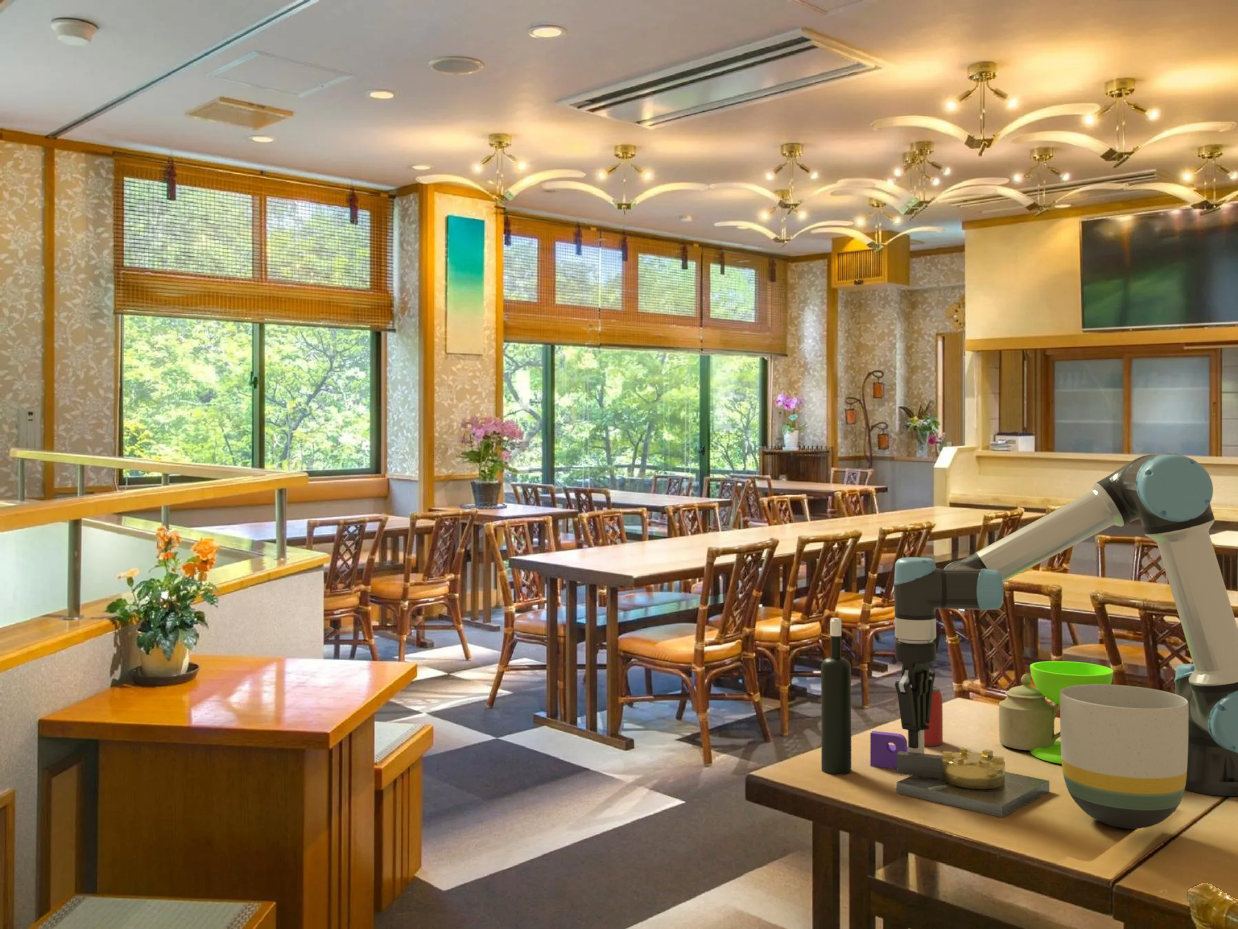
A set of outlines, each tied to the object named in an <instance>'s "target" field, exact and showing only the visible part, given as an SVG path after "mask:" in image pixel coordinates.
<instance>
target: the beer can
mask: <svg viewBox="0 0 1238 929" xmlns="http://www.w3.org/2000/svg"><path fill="white" fill-rule="evenodd" d="M940 690H941V689H940V687H938V686H935V685H933V692H932V703H931V713H930V722H929V724H927V723H926V725H927V726H930V728H929V730H927V729H923V730H924V747H937V746H940V745H942V744H943V741H944V740H943V739H944V738H943V733H944V732H943V730H944V729H943V728H944V727H943V726H944V725H943V724H944V723H943V720H944V719H943V714H944V713H943V712H944V711H943V696H942V693H941V691H940Z"/></svg>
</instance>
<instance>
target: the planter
mask: <svg viewBox="0 0 1238 929" xmlns="http://www.w3.org/2000/svg"><path fill="white" fill-rule="evenodd" d="M1059 724H1060V725H1059V727H1060V728H1059V729H1060V730H1059V732H1060V736H1061V737H1060V741H1061V758H1062V764H1061V768H1062V773H1063V774H1062V775H1063V779H1064V783H1065V786H1066V789H1067V791H1068V793H1069V795H1070V797H1071V798H1072V800H1073V801H1074V802H1075V803H1076V805H1077V806H1078V807H1079V808H1080V809H1081V810H1082V811H1083V812H1084V813H1085V814H1087V815H1088V816H1089V817H1091V818H1092V819H1094V820H1095V821H1098V822H1100V823H1102V824H1105V825H1108V826H1111V827H1115V828H1122V829H1129V830H1130V829H1132V830H1136V829H1146V828H1150V827H1153V826H1156V825H1158V824H1160V823H1162V822H1164V821H1165V820H1166V819H1168V818H1169V817H1170V816H1171V815H1173V813H1174V812H1175V811H1176V810H1177V809H1178V808H1179V806H1180V804H1181V802H1182V799H1183V796H1184V792H1185V791H1186V790H1185V785H1186V777H1187V760H1188V701H1187V700H1186V699H1185V698H1183V697H1181V696H1179V695H1176V694H1175V693H1172V692H1170V691H1169V692H1168V691H1164V690H1160V689H1155V688H1150V687H1141V686H1133V685H1122V684H1111V685H1108V684H1088V685H1075V686H1069V687H1066V688H1063V689H1062V690H1061V691H1060V705H1059Z"/></svg>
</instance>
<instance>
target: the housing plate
mask: <svg viewBox="0 0 1238 929" xmlns="http://www.w3.org/2000/svg"><path fill="white" fill-rule="evenodd" d="M1049 792H1050V780H1048V779H1044V778H1038V777H1033V776H1028V775H1022V774H1018V773H1014V772H1008V771H1005V784H1004V785H1003V786H1001V787H997V788H990V789H975V788H966V787H960V786H956V785H952V784H950V783H947V782H945V781H944V780H943V779H942V778H934V777H925V776H916V775H909V776H907V777H906V778H903V779H901V780H899V781H897V782H896V794H900V795H903V796H908V797H912V798H917V799H919V800H920V799H921V800H926V801H929V802H933V803H937V804H938V803H939V804H943V805H947V806H951V807H955V808H959V809H962V810H967V811H968V810H969V811H973V812H976V813H981V814H986V815H990V816H993V817H998V818H1004V817H1006V816H1007V815H1009V814H1011V813H1013V812H1015V811H1017V810H1019V809H1020V808H1022V807H1024V806H1026V805H1029V803H1031V802H1034V801H1035V800H1036V799H1038V798H1040V797H1042V796H1044V795H1047V794H1048V793H1049Z"/></svg>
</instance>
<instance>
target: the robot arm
mask: <svg viewBox="0 0 1238 929" xmlns="http://www.w3.org/2000/svg"><path fill="white" fill-rule="evenodd" d="M1213 496H1214V486H1213V480H1212V478H1211V475H1210V474H1209V472H1208V471H1207V470H1206V468H1205V467H1204V466H1203V465H1202V464H1201V463H1200V462H1198V461H1196V460H1195V459H1193V458H1190V457H1188V456H1185V455H1182V454H1180V453H1171V452H1170V453H1168V452H1167V453H1159V454H1148V455H1147V454H1146V455H1142V456H1139V457H1137V458H1134V459H1133V460H1131V461H1129V462H1128V463H1126V464H1125V465H1123V466H1122V467H1120V468H1119V469H1117V470H1116V471H1114V472H1113V473H1111V474H1109V475H1107V476H1106V477H1103V478H1102V479H1100V480H1098V481H1096V482H1095V483H1093V486H1092V489H1091V491H1090V492H1087V493H1085V494H1083V495H1082V496H1080V497H1077V498H1076V499H1074V500H1072V501H1071V502H1069V503H1067V504H1065V505H1063V506H1061V507H1059V508H1057V509H1054V511H1052V512H1050V513H1048V514H1046V515H1044V516H1042V517H1040V518H1039V519H1037V520H1034V521H1033V522H1031V523H1029V524H1027V525H1025V526H1023V527H1022V528H1020V529H1017V530H1015V531H1014V532H1012V533H1010V534H1009V535H1007V536H1004V537H1003V538H1001V539H999V540H997V541H994V542H993V543H991V544H990V545H987V546H986V547H985V546H984V547H983V548H981V549H980V550H978V551H976V552H975V553H973V554H971V555H968V556H966V557H965V558H963V559H960V560H956V561H953V562H950V563H948V564H947V565H946V566H945V567H944V568H937V566H936V561H935V560H934V559H933V558H930V557H916V556H914V557H913V556H912V557H910V556H909V557H908V556H907V557H901V558H898V559H897V560H896V562H895V564H894V579H893V580H894V581H893V590H894V591H893V593H894V595H893V596H894V597H893V598H894V599H893V600H894V601H893V602H894V620H893V624H892V625H894V637H895V638H896V640H895V641H894V658H895V660H896V661H898V662H900V663H901V664H902V665H901V666H902V667H901V672H900V674H901V679H900V680H895V682H894V687H895V690H896V694H897V700H898V707H899V717H900V723H901V729H902V730H905V731H907V747H908V752H912V753H923V754H925V746H924V730H923V729H927V730H929V728H930V726H927V725H926V723H927V724H929V722H930V713H931V703H932V692H933V686H934V682H935V678H936V672H935V671H930V664H931V663H934V662H935V661H936V659H937V643H936V642H935V640H936V638H937V616H936V612H937V609H939V610H946V609H947V610H948V609H949V610H977V611H979V610H981V611H982V612H984V611H986V610H988V611H989V610H991V611H993V610H998V609H1001V607H1002V606H1003V602H1004V582H1005V581H1007V580H1010V579H1011V578H1013V577H1015V576H1018V575H1019V574H1021V573H1023V572H1025V571H1027V570H1028V569H1031V568H1033V567H1035V566H1037V565H1038V564H1041V563H1042V562H1044V561H1046V560H1048V559H1050V558H1053V557H1054V556H1056V555H1058V554H1060V553H1062V552H1064V551H1065V550H1068V549H1069V548H1072V547H1074V546H1075V545H1077V544H1079V543H1081V542H1083V541H1086V540H1087V539H1089V538H1091V537H1092V536H1093V537H1094V536H1095V535H1097V534H1099V533H1102V531H1105V530H1106V529H1108V528H1110V527H1112V526H1117V527H1119V528H1120V527H1121V528H1122V527H1124V526H1125V525H1127V524H1129V523H1131V522H1134V521H1137V520H1140V523H1141V526H1142V529H1143V532H1144V536H1146V537H1147V538H1150V539H1151V540H1153V541H1154V542H1156V544H1157V547H1158V548H1157V549H1158V551H1159V554H1160V558H1161V560H1162V564H1163V567H1164V571H1165V574H1166V578H1167V581H1168V584H1169V587H1170V591H1171V594H1172V597H1173V601H1174V604H1175V606H1176V610H1177V614H1178V617H1179V621H1180V624H1181V627H1182V630H1183V634H1184V636H1185V637H1184V638H1185V640H1186V644H1187V648H1188V650H1189V654H1190V658H1191V661H1192V663H1182V664H1178V666H1177V667H1176V668H1175V676H1174V677H1175V678H1174V679H1173V682H1174V685H1175V686H1174V687H1175V690H1174V694H1176V695H1179V696H1181V697H1183V698H1185V699H1186V700H1187V701H1188V760H1187V777H1186V785H1185V790H1184V791H1189V792H1193V793H1197V794H1202V795H1210V796H1218V797H1219V796H1220V797H1238V624H1237V621H1236V617H1235V614H1234V610H1233V608H1232V605H1231V601H1230V598H1229V595H1228V591H1227V588H1226V585H1225V582H1224V578H1223V575H1222V572H1221V568H1220V565H1219V562H1218V559H1217V556H1216V552H1215V549H1214V546H1213V541H1212V538H1211V535H1210V532H1209V531H1210V529H1211V527H1212V525H1213V524H1214V523H1215V521H1216V519H1215V516H1214V513H1213V509H1212V505H1211V501H1212V499H1213Z"/></svg>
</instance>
